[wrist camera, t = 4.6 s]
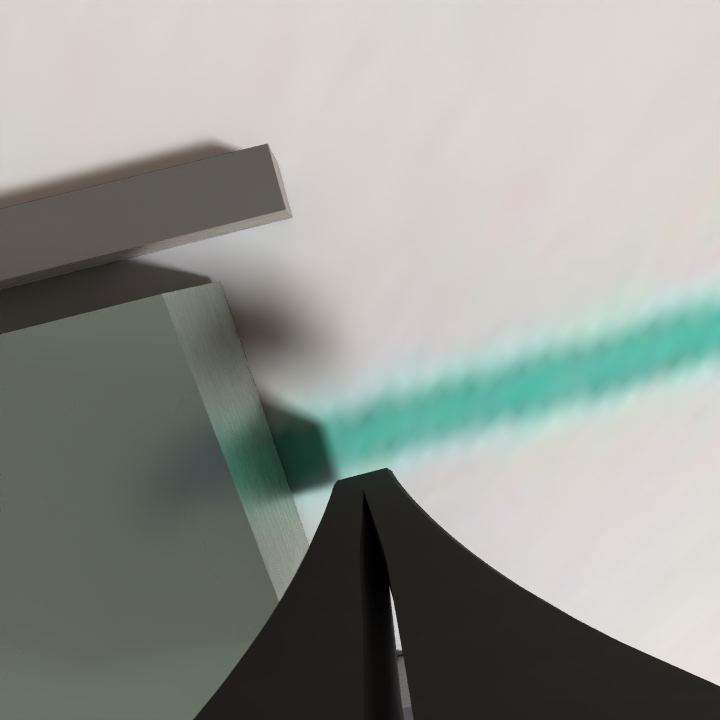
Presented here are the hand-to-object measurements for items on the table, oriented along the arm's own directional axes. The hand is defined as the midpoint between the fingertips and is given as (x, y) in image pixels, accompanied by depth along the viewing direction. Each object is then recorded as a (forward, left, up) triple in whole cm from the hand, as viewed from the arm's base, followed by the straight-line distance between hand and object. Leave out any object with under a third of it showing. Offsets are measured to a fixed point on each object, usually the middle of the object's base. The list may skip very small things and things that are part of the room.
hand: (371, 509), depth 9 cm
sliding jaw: (0, +7, -2) cm, 7 cm away
